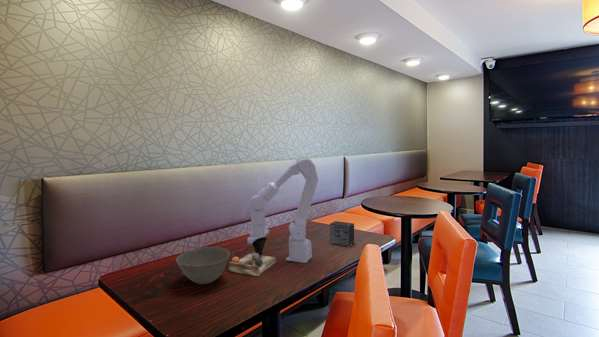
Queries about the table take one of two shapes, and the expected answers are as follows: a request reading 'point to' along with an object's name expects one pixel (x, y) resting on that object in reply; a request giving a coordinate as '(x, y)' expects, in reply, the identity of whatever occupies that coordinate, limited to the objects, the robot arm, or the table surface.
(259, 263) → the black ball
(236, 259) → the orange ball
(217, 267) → the bowl
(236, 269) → the bearing plate
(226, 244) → the table surface
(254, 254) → the steel ball
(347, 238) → the small box
